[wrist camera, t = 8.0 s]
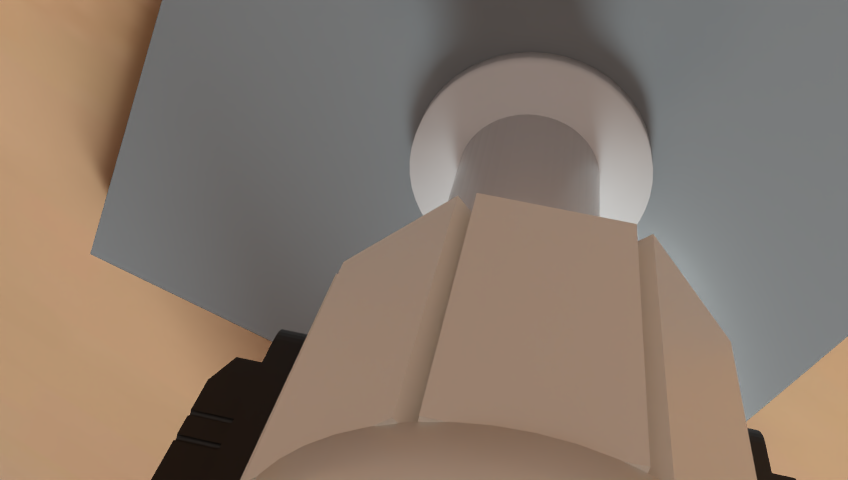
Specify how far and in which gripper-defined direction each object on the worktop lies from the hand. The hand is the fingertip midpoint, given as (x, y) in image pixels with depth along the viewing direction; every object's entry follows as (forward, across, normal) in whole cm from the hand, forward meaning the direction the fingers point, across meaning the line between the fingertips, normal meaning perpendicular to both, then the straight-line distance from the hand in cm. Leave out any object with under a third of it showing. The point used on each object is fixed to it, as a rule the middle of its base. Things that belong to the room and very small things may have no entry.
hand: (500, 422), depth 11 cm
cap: (0, 0, -1) cm, 1 cm away
